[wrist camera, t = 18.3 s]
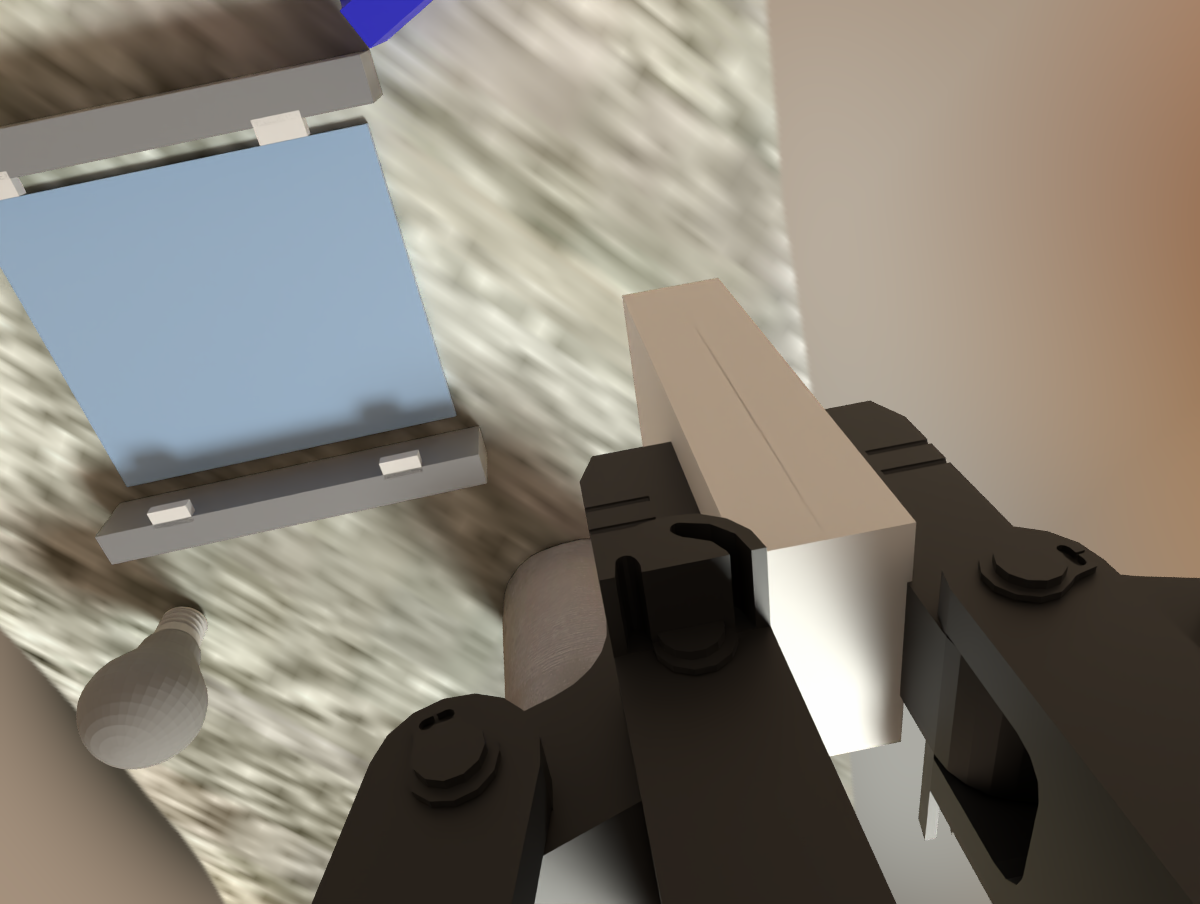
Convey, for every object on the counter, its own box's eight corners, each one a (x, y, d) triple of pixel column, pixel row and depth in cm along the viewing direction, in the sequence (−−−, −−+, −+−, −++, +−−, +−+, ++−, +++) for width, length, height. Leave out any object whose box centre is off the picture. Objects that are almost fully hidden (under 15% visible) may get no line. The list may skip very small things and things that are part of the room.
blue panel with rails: (-91, 145, 34) (-142, 158, 31) (369, 49, 35) (359, 54, 32) (135, 529, 45) (111, 564, 42) (487, 453, 45) (487, 483, 42)
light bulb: (144, 566, 46) (64, 698, 37) (251, 595, 48) (200, 727, 39) (123, 641, 48) (44, 781, 40) (226, 665, 50) (172, 804, 42)
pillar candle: (609, 671, 54) (647, 881, 42) (476, 630, 51) (472, 844, 38) (681, 565, 51) (748, 760, 38) (543, 514, 48) (564, 707, 35)
